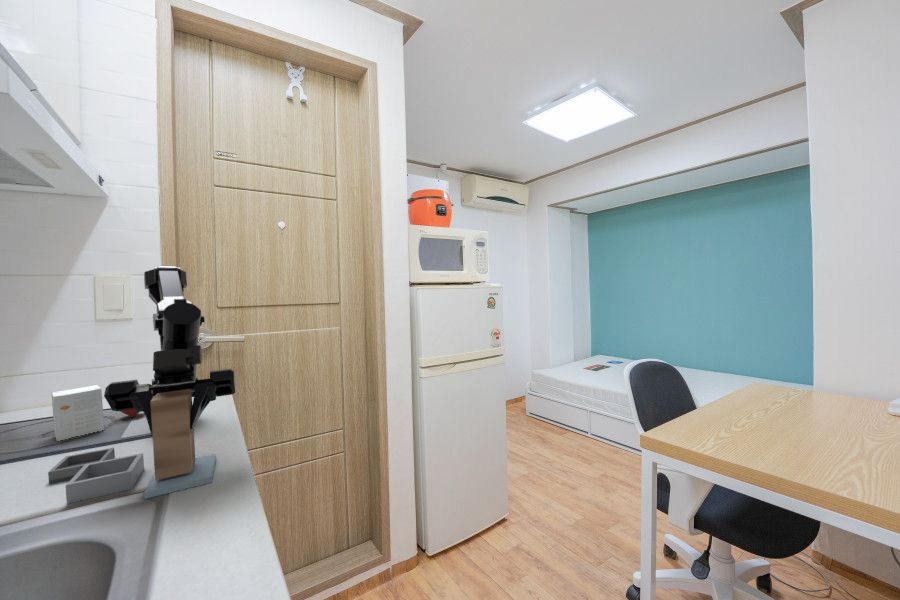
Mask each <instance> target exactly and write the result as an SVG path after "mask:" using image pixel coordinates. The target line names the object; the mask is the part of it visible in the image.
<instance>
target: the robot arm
mask: <svg viewBox="0 0 900 600" xmlns="http://www.w3.org/2000/svg"><path fill="white" fill-rule="evenodd" d="M143 281H144V283H143V284H144V289H145V290H148V291H147V292H148V297H149V299H150V300H151V301H152V302H153V303H154V304H155V305H156V313H153V314H152V323H153V331H154V332H157V333H158V336H159V343H160V344H159V345H160V346H159V347H160V350H158V351H157V350H156V351H154V352H153V359H152V361H153V362H152V371H154V373H153V379H151V383H143V384H141V383H139V382H138V381H139V380H138V379H130V380H122V381H112V382H110V383H109V384H108V385H107V386H106V387H105V390H104V394H103V396H104V398H105V400H106V402H107V404H108V406H109V407H110V409H111V411H112V412H120V411H124V410H131V409H135V410H136V411H137V412H139V413H140V412H141V413H142V412H143V413H144V415H145V417H146V421H147V424H148V425H147V426H148V428H149V431H150V434H151V436H152V437H153V435H152V419H151V402H150V401H151V400H152V399H153V398H154V396H155V395H156V394H157V393H164V392H171V391H179V390H186V389H191V390H192V398H193V399H192V410H191V415H190V429H193V428H194V427H195V426H196V424H197V422H198V421H199V418H200V417H201V416H202V413H203V412H204V411H205V409H206V408H207V407H208V405H209V404H210V403H211V402H213V401H216V400H217V398H218V397H223V396H231V395H234V394H235V393H236V378H235V377H236V376H235V371H234V370H233V369H232V368H224V369H216V370H210V371H209V378H202V379H198V377H197V365H201V364H202V362H203V360H202V359H203V357H202V356H203V355H202V346H201V344H200V345H199V334H200V327H201V326H202V325H203V323H205V316H203V315H202V310H201V309H200V308H199V307H198V306H197V305H196V304H193V302H191V301H190V300H188V299H187V298H185V295H184V290H185V289H186V288H187V287H188V280H187V272H186V271H184V270H182V269H181V267H179V266H178V267H177V266H176V265H175V266H169V265H166V266H165V265H164V266H163V265H161V266H159V265H158V266H154V267H153V268H152V269H150V270H146V271H144V272H143ZM194 429H195V428H194Z"/></svg>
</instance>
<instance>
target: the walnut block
mask: <svg viewBox="0 0 900 600" xmlns="http://www.w3.org/2000/svg"><path fill="white" fill-rule="evenodd" d="M150 402H151V419H152V434H151V436H152V435H153V436H152V447H153V451H152V452H153V465H154V466H153V467H154V472H155V480H159V479H164V478H168V477H172V476H177V475H181V474H186V473H190V472H192V470H193V467H194V463H195V458H196V448H195V447H196V446H195V428H193V429H190V415H191V410H192V405H193V397H192V390H191V389H186V390H179V391H171V392H164V393H157V394H156V395H155V396H154V398H153V399H152V400H151V401H150Z"/></svg>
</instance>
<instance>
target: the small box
mask: <svg viewBox="0 0 900 600" xmlns="http://www.w3.org/2000/svg"><path fill="white" fill-rule="evenodd" d="M102 394H103V393H102V388H101V387H100V386H99V385H97V384H95V385H89V386H84V387H83V386H82V387H78V388H72V389H71V388H70V389H67V390H66V389H65V390H61V391H54V392H51V401H52V402H51V404H52V415H53V416H52V417H53V429H54V435H55V440H56V442H57V441H59V442H61V441H60V440H63V441H65V440H64V439H67V440H69V439H68V438H71V437H75V436H79V435H83V434H87V435H89V434H88V433H91V434H94V433H93V432H95V433H98V432H97V431H99V432H103V431H105V430H106V429H105V419H104V418H105V417H104V408H103V407H104V405H103V395H102ZM102 430H103V431H102ZM83 436H84V435H83ZM79 437H80V436H79ZM75 438H76V437H75ZM71 439H72V438H71Z"/></svg>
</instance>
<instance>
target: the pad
mask: <svg viewBox="0 0 900 600" xmlns="http://www.w3.org/2000/svg"><path fill="white" fill-rule="evenodd" d="M216 461H217V454H216V453H214V454H213V453H212V454H209V455H204V456H200V457H195V463H194V467H193V470H192V472H190V473H186V474H181V475H177V476H172V477H168V478H164V479H159V480H155V471H154V473H153V475H152V476H151V477H150V478H151V479H150V480H149V481H148V482H149V483H147V486H146V488H145V490H144V491H143V499H145V500H146V499H151V498H154V497H157V496H158V497H159V496H163V495H166V494H169V493H174V491H175V492H178V491H177V490H179V491H182V490H181V489H183V490H186V489H185V488H187V489H190V488H189V487H191V488H194V486H195V487H198V486H199V487H200V486H202V485H207V484H211V483H213V482H212V481H213V476H214V472H215V466H216Z"/></svg>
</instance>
